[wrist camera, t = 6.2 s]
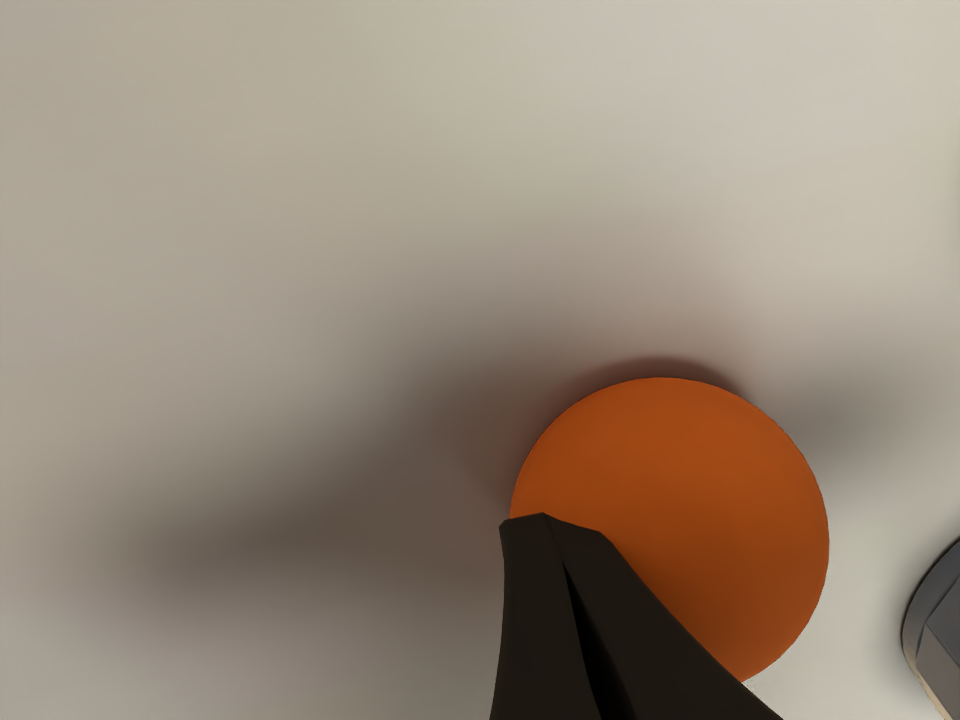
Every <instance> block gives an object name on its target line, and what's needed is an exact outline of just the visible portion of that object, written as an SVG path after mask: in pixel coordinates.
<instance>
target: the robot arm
mask: <svg viewBox="0 0 960 720" xmlns="http://www.w3.org/2000/svg"><path fill="white" fill-rule="evenodd" d="M499 532H500V538H501V545H502V551H503V558H504V607H503V621H502V635H501V646H500V654H499V661H498V668H497V676H496V683H495V690H494V697H493V703H492V708H491V714H490V719H489V720H783V719H782V718H781V717H780V716H779V715H777V714H776V713H775V712H774V711H773V710H771V709H770V708H769V707H768V706H767V705H765V704H764V703H763V702H762V701H761V700H760V699H759V698H758V697H756V696H755V695H754V694H753V693H752V692H751V691H750V690H748V689H747V688H746V687H745V686H744V685H743V684H742V683H741V682H739V681H738V680H737V679H736V678H735V677H734V676H733V675H732V674H731V673H730V672H729V671H728V670H727V669H725V668H724V667H723V666H722V665H721V664H720V663H719V662H718V661H717V660H716V659H715V658H714V657H713V656H712V655H711V654H710V653H709V652H708V651H707V650H706V649H705V648H704V647H703V646H702V645H701V644H700V643H699V642H698V641H697V640H696V639H695V638H694V637H693V636H692V635H691V634H690V633H689V632H688V631H687V630H686V629H685V628H684V627H683V625H682V624H681V623H680V622H679V621H678V620H677V619H676V618H675V617H674V616H673V615H672V614H671V613H670V611H669V610H668V609H667V608H666V607H665V606H664V605H663V604H662V602H661V601H660V600H659V599H658V598H657V597H656V596H655V595H654V593H653V592H652V591H651V590H650V589H649V588H648V587H647V586H646V584H645V583H644V582H643V581H642V580H641V578H640V577H639V576H638V575H637V574H636V572H635V571H634V570H633V569H632V568H631V566H630V565H629V564H628V562H627V561H626V560H625V559H624V557H623V556H622V555H621V554H620V552H619V551H618V550H617V548H616V547H615V546H614V544H613V543H612V542H611V541H609V540H608V539H607V538H606V537H605V536H604V535H603V534H602V533H601V532H600V531H596V530H593V529H589V528H585V527H581V526H577V525H574V524H572V523H568V522H565V521H561V520H559V519H556V518H554V517H552V516H550V515H548V514H546V513H544V512H541V513H536V514H531V515H526V516H521V517H516V518H512V519H507V520H505V521H504V522H503V523H502V524H501V525H500V526H499Z"/></svg>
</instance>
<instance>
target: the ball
mask: <svg viewBox="0 0 960 720" xmlns="http://www.w3.org/2000/svg"><path fill="white" fill-rule="evenodd" d="M541 512H544V513H546V514H548V515H550V516H552V517H554V518H556V519H559V520H561V521H565V522H568V523H572V524H574V525H577V526H581V527H585V528H589V529H593V530H596V531H600V532H601V533H602V534H603V535H604V536H605V537H606V538H607V539H608V540H609V541H611V542H612V543H613V544H614V546H615V547H616V548H617V550H618V551H619V552H620V554H621V555H622V556H623V557H624V559H625V560H626V561H627V562H628V564H629V565H630V566H631V568H632V569H633V570H634V571H635V572H636V574H637V575H638V576H639V577H640V578H641V580H642V581H643V582H644V583H645V584H646V586H647V587H648V588H649V589H650V590H651V591H652V592H653V593H654V595H655V596H656V597H657V598H658V599H659V600H660V601H661V602H662V604H663V605H664V606H665V607H666V608H667V609H668V610H669V611H670V613H671V614H672V615H673V616H674V617H675V618H676V619H677V620H678V621H679V622H680V623H681V624H682V625H683V627H684V628H685V629H686V630H687V631H688V632H689V633H690V634H691V635H692V636H693V637H694V638H695V639H696V640H697V641H698V642H699V643H700V644H701V645H702V646H703V647H704V648H705V649H706V650H707V651H708V652H709V653H710V654H711V655H712V656H713V657H714V658H715V659H716V660H717V661H718V662H719V663H720V664H721V665H722V666H723V667H724V668H725V669H727V670H728V671H729V672H730V673H731V674H732V675H733V676H734V677H735V678H736V679H737V680H738V681H739V682H743V681H745V680H747V679H749V678H750V677H752V676H754V675H756V674H758V673H759V672H761V671H763V670H764V669H765V668H767V667H768V666H769V665H771V664H772V663H773V662H774V661H776V660H777V659H778V658H780V656H781V655H782V654H783V653H784V652H785V651H786V650H787V649H788V648H789V647H790V646H791V645H792V644H793V643H794V642H795V641H796V639H797V638H798V636H799V635H800V633H801V632H802V631H803V629H804V628H805V626H806V625H807V624H808V622H809V620H810V618H811V616H812V614H813V612H814V610H815V608H816V606H817V604H818V601H819V598H820V595H821V592H822V589H823V586H824V583H825V577H826V572H827V567H828V559H829V531H828V521H827V515H826V510H825V506H824V502H823V498H822V495H821V492H820V489H819V487H818V484H817V482H816V479H815V476H814V474H813V472H812V471H811V469H810V467H809V465H808V463H807V461H806V460H805V458H804V456H803V455H802V453H801V452H800V451H799V449H798V448H797V446H796V445H795V444H794V442H793V441H792V440H791V438H790V437H789V436H788V435H787V434H786V433H785V432H784V431H783V430H782V429H781V428H780V427H779V426H778V425H777V424H776V423H775V422H774V421H773V420H772V419H771V418H770V417H768V416H767V415H766V414H765V413H763V412H762V411H761V410H760V409H758V408H757V407H755V406H754V405H752V404H751V403H749V402H747V401H746V400H744V399H743V398H741V397H739V396H737V395H735V394H733V393H730V392H728V391H726V390H724V389H722V388H719V387H716V386H713V385H709V384H706V383H703V382H698V381H693V380H687V379H681V378H664V377H653V378H643V379H635V380H631V381H626V382H622V383H618V384H615V385H612V386H609V387H607V388H604V389H601V390H599V391H596V392H594V393H592V394H591V395H589V396H587V397H585V398H583V399H582V400H580V401H578V402H577V403H575V404H574V405H572V406H571V407H570V408H568V409H567V410H566V411H565V412H563V413H562V414H561V415H560V416H559V417H557V418H556V419H555V420H554V421H553V422H552V424H551V425H550V426H549V427H548V428H547V429H546V430H545V431H544V432H543V433H542V435H541V436H540V437H539V439H538V440H537V441H536V443H535V445H534V446H533V448H532V450H531V451H530V453H529V454H528V456H527V458H526V460H525V462H524V464H523V466H522V468H521V470H520V473H519V476H518V478H517V481H516V485H515V488H514V492H513V496H512V501H511V508H510V519H512V518H516V517H521V516H526V515H531V514H536V513H541Z"/></svg>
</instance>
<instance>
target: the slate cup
mask: <svg viewBox="0 0 960 720" xmlns="http://www.w3.org/2000/svg"><path fill="white" fill-rule="evenodd" d="M902 640H903V650H904V654H905V657H906V660H907V662H908V664H909V666H910V668H911V669H912V671H913V672H914V674H915V675H916V677H917V678H918V680H919V681H920V682H921V684H922V685H923V687H924V688H925V691H926V693H927V696H928V698H929V699H930V700H931V702H932V703H933V705H934V706H935V708H936V709H937V710H938V712H939V713H940V715H941V716H942V718H943V719H944V720H960V541H958V542H957V543H956V544H955V545H954V546H953V547H952V548H951V549H950V550H949V551H948V552H947V553H946V554H945V555H944V556H943V557H942V558H941V559H940V560H939V561H938V562H937V564H936V565H935V566H934V567H933V569H932V570H931V571H930V572H929V574H928V575H927V576H926V577H925V579H924V581H923V582H922V584H921V585H920V587H919V588H918V590H917V592H916V593H915V595H914V597H913V599H912V602H911V604H910V606H909V608H908V611H907V614H906V617H905V621H904V626H903V634H902Z"/></svg>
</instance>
